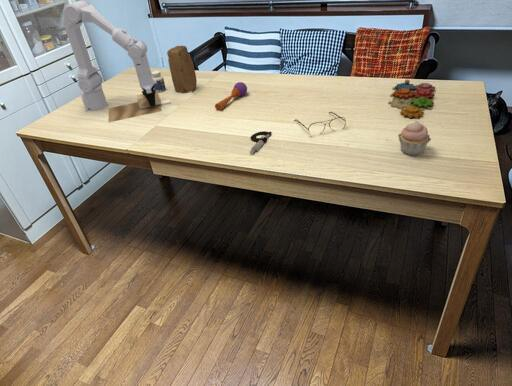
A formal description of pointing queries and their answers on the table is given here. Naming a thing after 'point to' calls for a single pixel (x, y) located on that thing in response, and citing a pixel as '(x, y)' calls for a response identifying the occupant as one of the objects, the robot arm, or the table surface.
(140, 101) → the sanding block
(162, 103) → the eraser
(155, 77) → the pill bottle
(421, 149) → the cupcake
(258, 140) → the micrometer
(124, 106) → the board
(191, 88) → the block
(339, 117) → the glasses
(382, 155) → the table surface
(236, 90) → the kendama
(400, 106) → the gear puzzle
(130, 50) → the robot arm
